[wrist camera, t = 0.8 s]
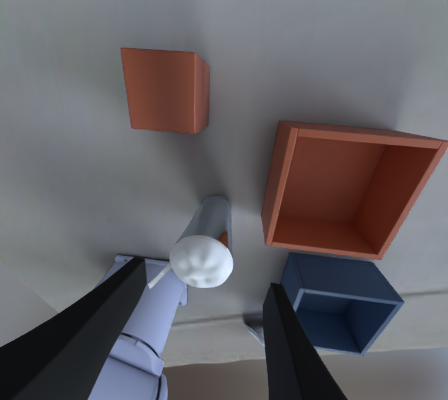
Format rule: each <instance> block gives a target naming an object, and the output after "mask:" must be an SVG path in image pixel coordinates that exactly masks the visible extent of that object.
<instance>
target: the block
mask: <svg viewBox="0 0 448 400" xmlns="http://www.w3.org/2000/svg"><path fill="white" fill-rule="evenodd" d="M121 56H122V63H123V70H124V77H125V85H126V92H127V99H128V106H129V114H130V121H131V128H133V129H144V130H155V131H166V132H176V133H187V134H196V133H197V132H199V131H201V130H202V129H204V128H205V127H207V126H208V118H209V88H210V67H209V66H208V65H207V64H206V63H205V62H204V61H203V60H202V59H201V58H200V57H199V56H198V55H197V54H196V53H195V52H180V51H166V50H151V49H136V48H121Z"/></svg>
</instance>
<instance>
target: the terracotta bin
mask: <svg viewBox="0 0 448 400" xmlns="http://www.w3.org/2000/svg"><path fill="white" fill-rule="evenodd" d="M447 148H448V141H447V140H441V139H436V138H431V137H426V136H420V135H415V134H410V133H405V132H399V131H393V130H381V129H370V128H358V127H347V126H335V125H323V124H312V123H300V122H289V121H279V124H278V130H277V135H276V140H275V145H274V151H273V156H272V161H271V167H270V172H269V177H268V183H267V188H266V193H265V198H264V204H263V209H262V214H261V217H262V224H263V232H264V240H265V245H266V246H274V247H282V248H290V249H298V250H306V251H314V252H322V253H330V254H338V255H346V256H355V257H363V258H371V259H379V260H381V259H382V258H383V256H384V254H385V253H386V251H387V249H388V248H389V246H390V244H391V242H392V241H393V239H394V237H395V236H396V234H397V232H398V231H399V229H400V227H401V226H402V224H403V222H404V221H405V219H406V217H407V216H408V214H409V212H410V211H411V209H412V207H413V205H414V204H415V202H416V200H417V199H418V197H419V195H420V194H421V192H422V190H423V189H424V187H425V185H426V184H427V182H428V180H429V179H430V177H431V175H432V173H433V172H434V170H435V168H436V167H437V165H438V163H439V162H440V160H441V158H442V157H443V155H444V153H445V152H446V150H447Z"/></svg>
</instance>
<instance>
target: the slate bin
mask: <svg viewBox="0 0 448 400" xmlns="http://www.w3.org/2000/svg"><path fill="white" fill-rule="evenodd" d="M280 284H281V285H283V286H284V288H285V291H286V293H287V295H288V297H289V300H290V302H291V304H292V306H293V308H294V310H295V312H296V314H297V316H298V318H299V320H300V322H301V324H302V326H303V328H304V330H305V332H306V334H307V335H308V337H309V339H310V341H311V343H312V344H313V346H314V348H315V349H320V350H327V351H333V352H340V353H346V354H353V355H360V356H364V354H365V353H366V352H367V351H368V349H369V348H370V347H371V345H372V344H373V343H374V342H375V340H376V339H377V338H378V336H379V335H380V334H381V332H382V331H383V330H384V329H385V327H386V326H387V325H388V323H389V322H390V321H391V319H392V318H393V317H394V316H395V314H396V313H397V312H398V310H399V309H400V308H401V307H402V305H403V304H404V301H403V300H402V298H401V297H400V296H399V295H398V293H397V292H396V291H395V290H394V288H393V287H392V286H391V285H390V283H389V282H388V281H387V279H386V278H385V277H384V276H383V274H382V273H381V272H380V271H379V269H378V268H377V267H376V266H375V264H374V263H368V262H360V261H352V260H345V259H337V258H329V257H321V256H313V255H305V254H297V253H289V256H288V259H287V263H286V266H285V269H284V273H283V276H282V279H281V283H280Z"/></svg>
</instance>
